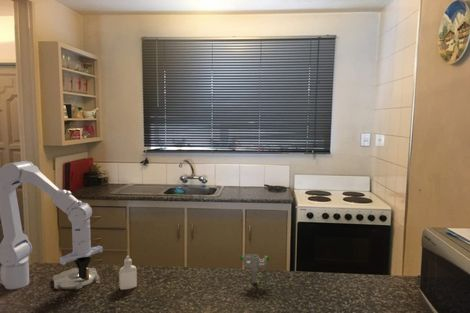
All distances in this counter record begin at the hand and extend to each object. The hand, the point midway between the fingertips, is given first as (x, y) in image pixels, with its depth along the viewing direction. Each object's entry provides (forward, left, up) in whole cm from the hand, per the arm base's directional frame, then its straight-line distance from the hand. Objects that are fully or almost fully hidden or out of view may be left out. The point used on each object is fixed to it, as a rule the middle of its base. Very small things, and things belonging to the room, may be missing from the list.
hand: (82, 277), depth 120 cm
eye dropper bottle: (+13, +9, -4) cm, 16 cm away
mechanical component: (+45, +40, -4) cm, 60 cm away
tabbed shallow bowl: (-6, +1, -3) cm, 6 cm away
